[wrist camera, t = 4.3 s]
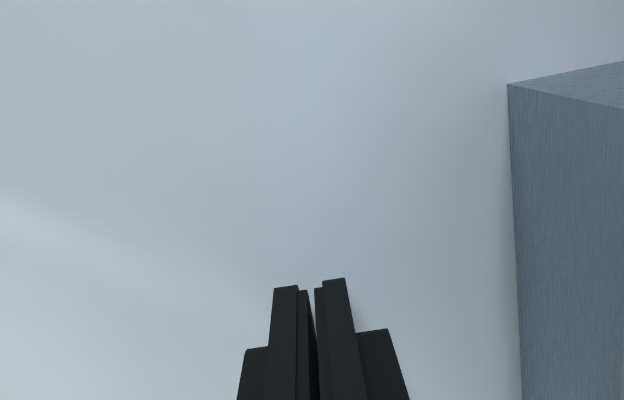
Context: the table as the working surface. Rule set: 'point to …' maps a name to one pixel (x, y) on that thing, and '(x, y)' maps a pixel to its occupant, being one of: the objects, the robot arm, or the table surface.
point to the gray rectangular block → (569, 232)
